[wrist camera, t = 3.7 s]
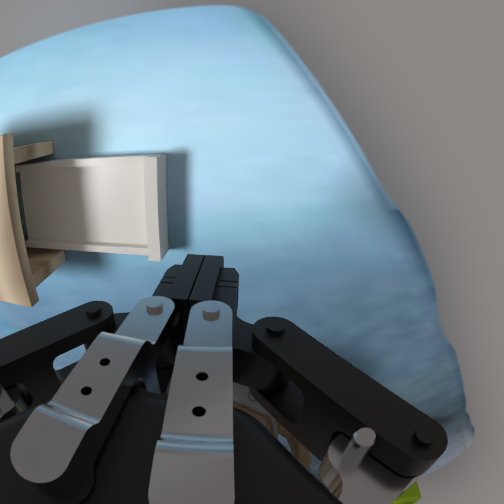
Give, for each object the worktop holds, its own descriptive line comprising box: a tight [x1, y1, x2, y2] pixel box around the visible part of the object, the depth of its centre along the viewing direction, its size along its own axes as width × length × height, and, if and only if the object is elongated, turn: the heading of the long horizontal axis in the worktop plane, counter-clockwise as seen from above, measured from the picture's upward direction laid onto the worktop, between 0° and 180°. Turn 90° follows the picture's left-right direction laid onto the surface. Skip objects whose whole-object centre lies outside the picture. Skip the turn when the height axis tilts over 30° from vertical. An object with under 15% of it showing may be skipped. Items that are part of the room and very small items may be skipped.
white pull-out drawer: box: [15, 154, 169, 262], centre depth 23 cm, size 15×8×2 cm, turn 87°
